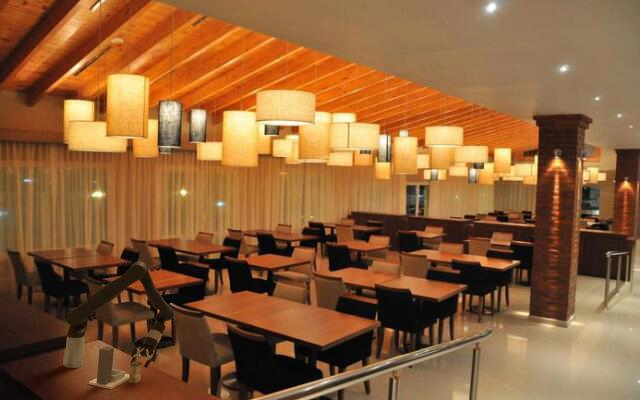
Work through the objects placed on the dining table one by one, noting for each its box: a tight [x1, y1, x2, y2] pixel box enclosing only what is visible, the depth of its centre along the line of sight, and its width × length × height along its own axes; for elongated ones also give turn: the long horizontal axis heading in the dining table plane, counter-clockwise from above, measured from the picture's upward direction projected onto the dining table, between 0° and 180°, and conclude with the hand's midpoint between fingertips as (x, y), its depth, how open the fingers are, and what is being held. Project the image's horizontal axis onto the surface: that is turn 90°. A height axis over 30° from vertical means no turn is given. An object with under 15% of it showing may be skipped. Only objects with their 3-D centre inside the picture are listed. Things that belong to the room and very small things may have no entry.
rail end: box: [128, 360, 143, 384], centre depth 263 cm, size 4×4×10 cm
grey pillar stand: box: [88, 346, 130, 390], centre depth 261 cm, size 14×18×19 cm
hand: (138, 366), depth 265 cm, fingers open, 8 cm apart
